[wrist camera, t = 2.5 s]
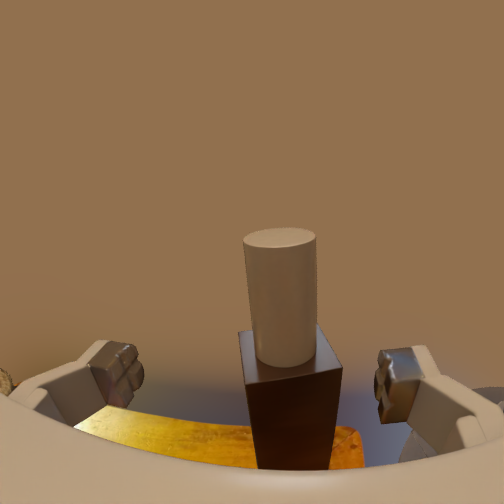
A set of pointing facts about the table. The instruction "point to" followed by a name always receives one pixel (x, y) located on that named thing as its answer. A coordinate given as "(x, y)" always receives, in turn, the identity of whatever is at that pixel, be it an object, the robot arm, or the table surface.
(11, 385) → the coral
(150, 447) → the table surface
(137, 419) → the table surface
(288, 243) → the beige tapered cylinder
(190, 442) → the table surface
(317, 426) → the pedestal
